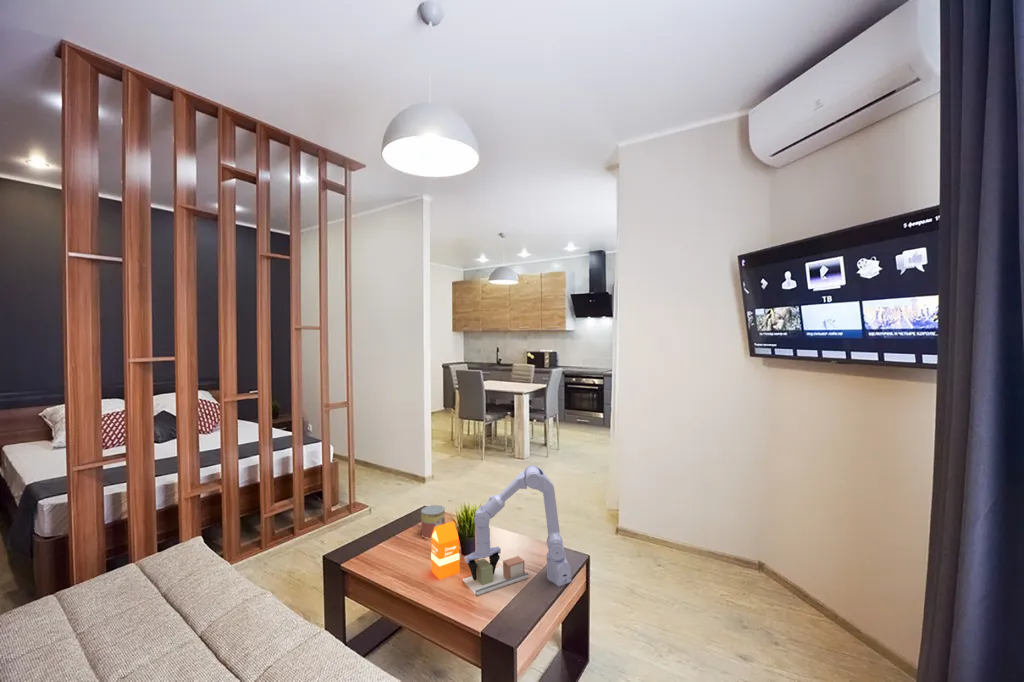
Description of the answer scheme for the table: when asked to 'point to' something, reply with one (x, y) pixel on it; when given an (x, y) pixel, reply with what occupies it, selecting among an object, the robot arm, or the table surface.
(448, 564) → the orange juice
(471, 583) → the shelf board
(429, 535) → the canned food
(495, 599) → the table surface
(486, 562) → the tea box olive
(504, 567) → the tea box rust
